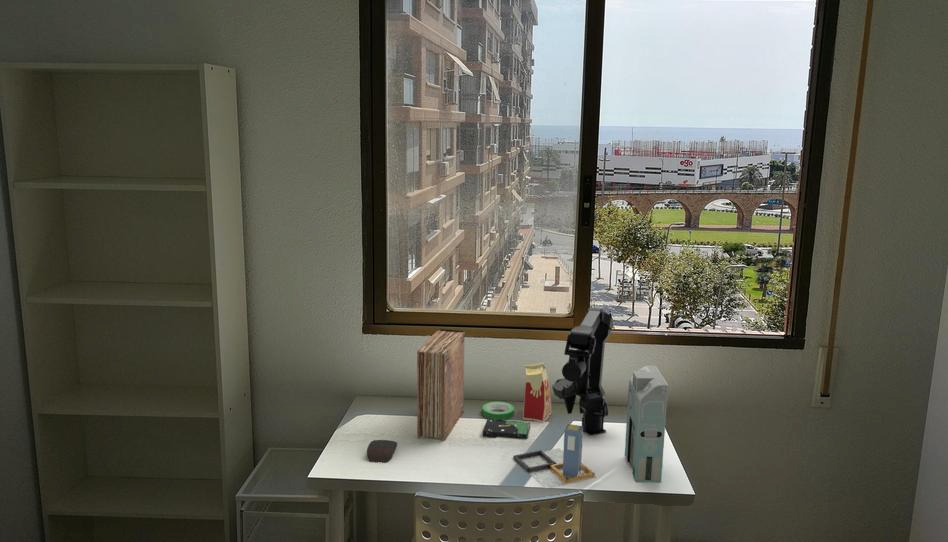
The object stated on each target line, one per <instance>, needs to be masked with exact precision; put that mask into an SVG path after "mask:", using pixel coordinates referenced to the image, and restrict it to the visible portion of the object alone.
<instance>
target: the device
mask: <svg viewBox="0 0 948 542" xmlns="http://www.w3.org/2000/svg"><path fill="white" fill-rule="evenodd" d="M668 391H669V384H668V382H667V381H666V380H665V378H664V377H663V375H662V374H661V372H660V370H659V368H657V366H656V365H645V366H643V367H641V368H640V369H639V370H638V371H633V373H632V376H631V377H630V378H629V380H628V391H627V392H628V393H627V411H626V422H625V423H626V424H625V425H626V426H625V441H624V442H625V443H624V457H625V459H626V461H627V463H628V464H629V466H630V469H631V468H632V469H631V474H632V476H633V479H634V481H635V482H636V483H662V476H663V475H662V474H663V465H664V464H663V460H664V448H665V445H664V444H665V435H666V434H665V433H666V420H667V419H666V418H667V407H668V406H667V404H668Z"/></svg>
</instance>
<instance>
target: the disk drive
mask: <svg viewBox="0 0 948 542" xmlns="http://www.w3.org/2000/svg"><path fill="white" fill-rule="evenodd" d="M530 429H531V422H526V421H518V420H509V419H506V420H495V419H488V418H486V422H485V424H484V426H483V429H482V437H483V438H489V439H490V438H492V439H493V438H494V439H497V438H509V439H519V440H520V439H521V440H522V439H523V440H527V439H528V437H529V433H530Z"/></svg>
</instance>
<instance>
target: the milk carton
mask: <svg viewBox="0 0 948 542" xmlns="http://www.w3.org/2000/svg"><path fill="white" fill-rule="evenodd" d="M523 367H524V368H525V373H526V374H525V385H524V396H523V397H524V398H523V399H524V400H523V410H522V420H523V421H531V420H534V421H533V422H536V421H540V422H539V423H541V422H544V421H545V420H546V421H547V419H549V417H550V416H551V414H552V399H551V398H552V397H551V391H550V390H551V389H550V384H549V383H550V382H549V378H548V373H547V370H546V369H547V368H546V367H545V362H541V363H536V364H523ZM549 415H550V416H549ZM546 421H545V422H546ZM545 422H544V423H545Z"/></svg>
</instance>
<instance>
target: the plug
mask: <svg viewBox="0 0 948 542" xmlns="http://www.w3.org/2000/svg"><path fill="white" fill-rule="evenodd" d="M563 433H564V435H563V437H564V438H563V451H564V455H563V474H564V475H569V476H577V475H579V473H580V471H581V463H582V456H583V455H582V454H583V437H584V436H583V435H584V431H583V426H582V425H579V424H578V425H577V424H571V423H570V424H567V425H566V426H565V428H564V432H563Z"/></svg>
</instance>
